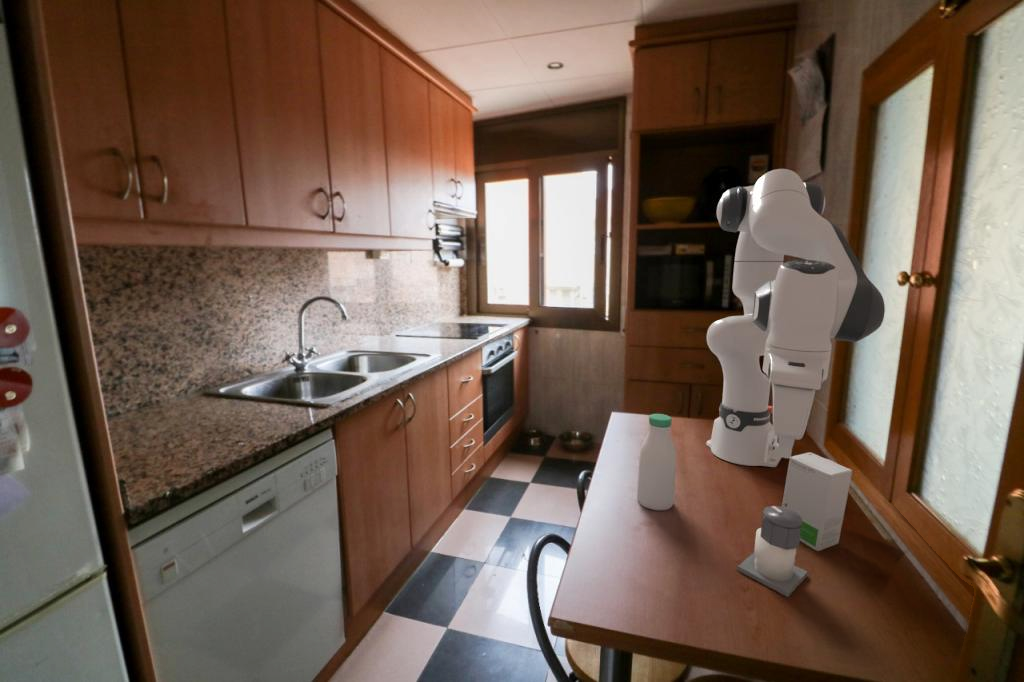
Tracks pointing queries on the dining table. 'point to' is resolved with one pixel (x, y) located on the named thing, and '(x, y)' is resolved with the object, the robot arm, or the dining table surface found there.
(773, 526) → the cap
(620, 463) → the dining table surface
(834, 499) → the skincare box
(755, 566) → the jar
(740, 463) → the robot arm
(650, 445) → the milk bottle
